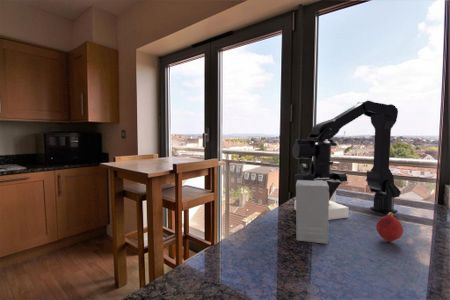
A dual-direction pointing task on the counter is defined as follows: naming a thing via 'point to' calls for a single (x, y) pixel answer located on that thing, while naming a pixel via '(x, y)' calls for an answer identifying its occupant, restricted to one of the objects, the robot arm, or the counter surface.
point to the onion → (389, 228)
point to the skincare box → (312, 211)
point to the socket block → (334, 210)
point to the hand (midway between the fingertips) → (320, 201)
